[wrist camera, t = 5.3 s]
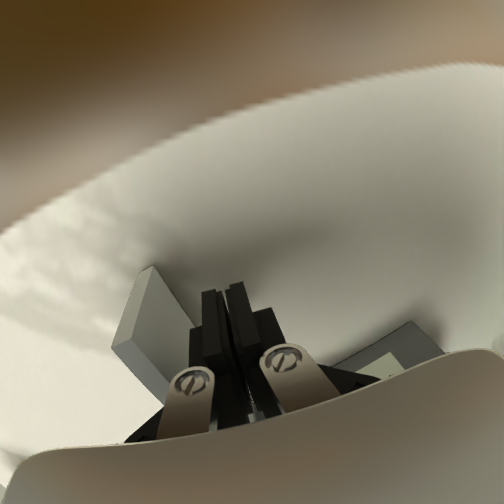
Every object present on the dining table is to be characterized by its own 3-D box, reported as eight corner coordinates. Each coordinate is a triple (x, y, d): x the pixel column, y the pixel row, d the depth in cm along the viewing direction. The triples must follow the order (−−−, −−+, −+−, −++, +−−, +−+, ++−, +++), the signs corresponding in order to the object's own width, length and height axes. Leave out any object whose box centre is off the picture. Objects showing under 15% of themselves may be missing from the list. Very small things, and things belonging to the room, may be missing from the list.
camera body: (431, 305, 17) (502, 367, 11) (435, 376, 20) (482, 432, 14) (240, 407, 18) (261, 504, 11) (285, 457, 21) (308, 529, 14)
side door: (133, 276, 13) (101, 357, 8) (154, 264, 13) (130, 343, 8) (237, 410, 17) (253, 489, 12) (254, 403, 17) (274, 482, 12)
